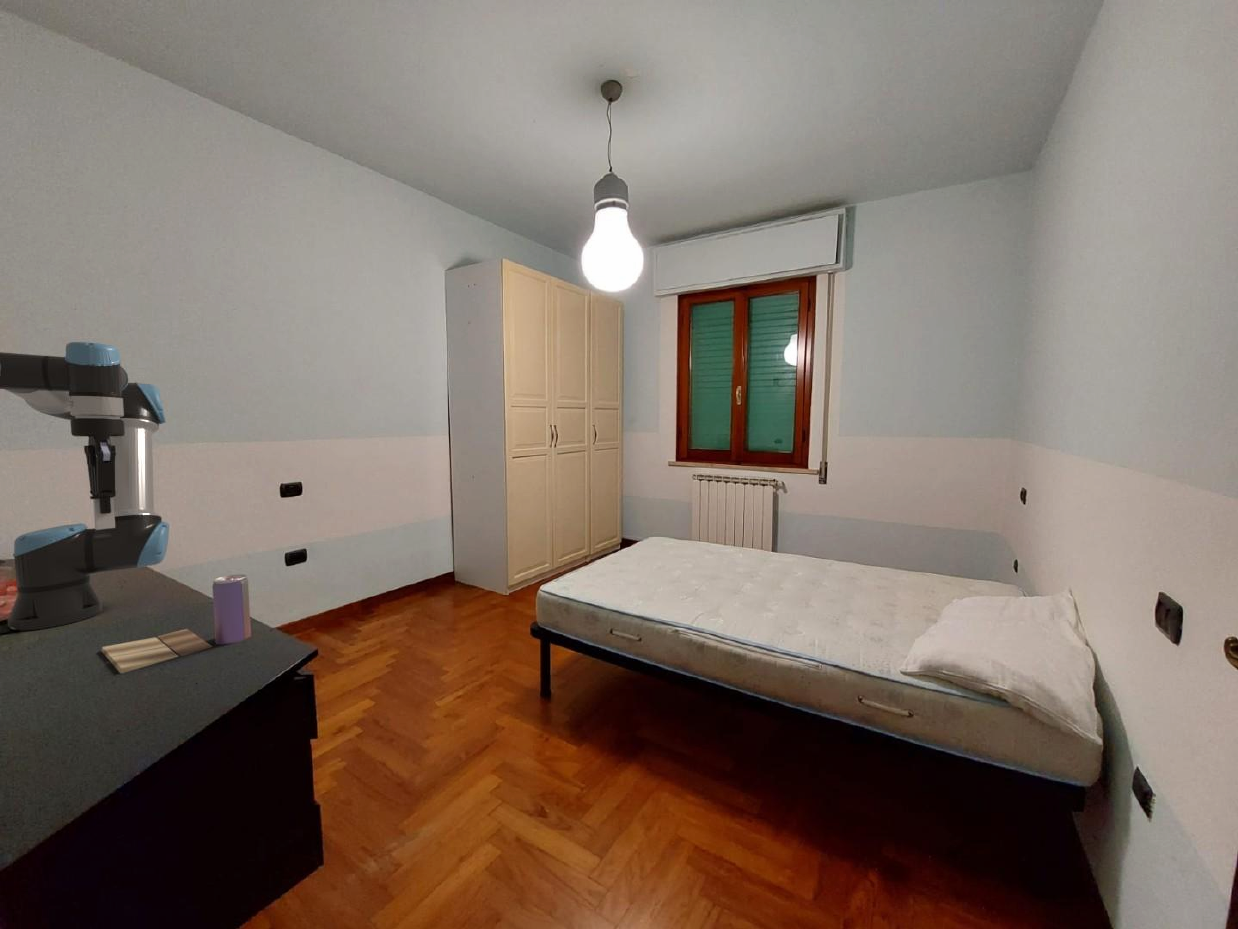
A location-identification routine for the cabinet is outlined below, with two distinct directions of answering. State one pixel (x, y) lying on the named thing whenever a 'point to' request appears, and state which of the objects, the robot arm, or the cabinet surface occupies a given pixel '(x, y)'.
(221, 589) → the beverage can
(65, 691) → the cabinet surface
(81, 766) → the cabinet surface
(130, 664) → the oak plank
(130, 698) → the cabinet surface
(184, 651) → the laid board
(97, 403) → the robot arm
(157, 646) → the oak plank
